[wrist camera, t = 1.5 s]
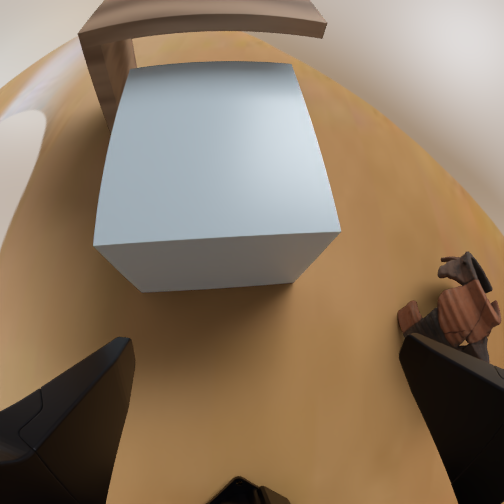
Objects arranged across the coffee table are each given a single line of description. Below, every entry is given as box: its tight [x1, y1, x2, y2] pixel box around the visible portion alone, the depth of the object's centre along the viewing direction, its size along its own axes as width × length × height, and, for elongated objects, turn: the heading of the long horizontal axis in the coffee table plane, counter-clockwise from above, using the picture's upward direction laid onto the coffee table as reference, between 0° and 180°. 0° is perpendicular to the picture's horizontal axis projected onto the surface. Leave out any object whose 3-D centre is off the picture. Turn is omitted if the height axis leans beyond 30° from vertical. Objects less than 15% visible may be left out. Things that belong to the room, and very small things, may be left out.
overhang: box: [78, 0, 327, 134], centre depth 22 cm, size 11×18×14 cm, turn 96°
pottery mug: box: [398, 252, 501, 363], centre depth 21 cm, size 12×10×8 cm
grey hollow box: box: [93, 61, 341, 293], centre depth 20 cm, size 14×12×10 cm
